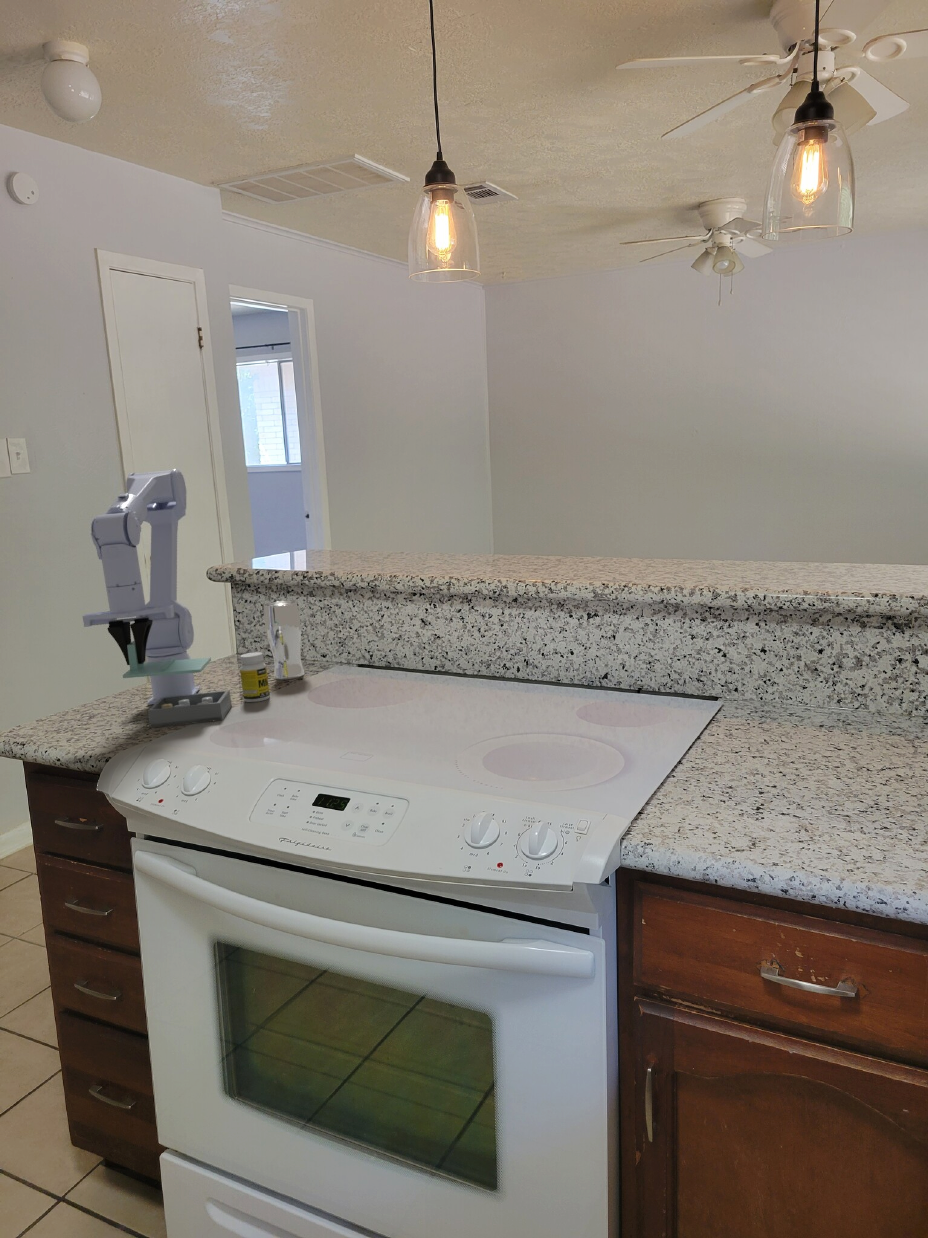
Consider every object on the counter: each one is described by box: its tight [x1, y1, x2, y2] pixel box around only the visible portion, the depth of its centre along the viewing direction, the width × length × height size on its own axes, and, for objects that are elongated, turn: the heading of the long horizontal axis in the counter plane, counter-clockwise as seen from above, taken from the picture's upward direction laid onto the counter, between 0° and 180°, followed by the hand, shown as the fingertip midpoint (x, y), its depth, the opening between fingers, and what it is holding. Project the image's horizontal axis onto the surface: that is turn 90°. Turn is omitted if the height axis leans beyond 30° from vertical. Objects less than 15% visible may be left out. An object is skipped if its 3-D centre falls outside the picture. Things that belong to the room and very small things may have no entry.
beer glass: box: [263, 599, 305, 681], centre depth 178 cm, size 7×7×15 cm
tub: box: [147, 690, 233, 729], centre depth 153 cm, size 9×12×3 cm
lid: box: [122, 640, 212, 679], centre depth 151 cm, size 10×13×5 cm
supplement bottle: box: [239, 651, 271, 703], centre depth 161 cm, size 5×5×8 cm
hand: (136, 663), depth 151 cm, fingers closed on lid
